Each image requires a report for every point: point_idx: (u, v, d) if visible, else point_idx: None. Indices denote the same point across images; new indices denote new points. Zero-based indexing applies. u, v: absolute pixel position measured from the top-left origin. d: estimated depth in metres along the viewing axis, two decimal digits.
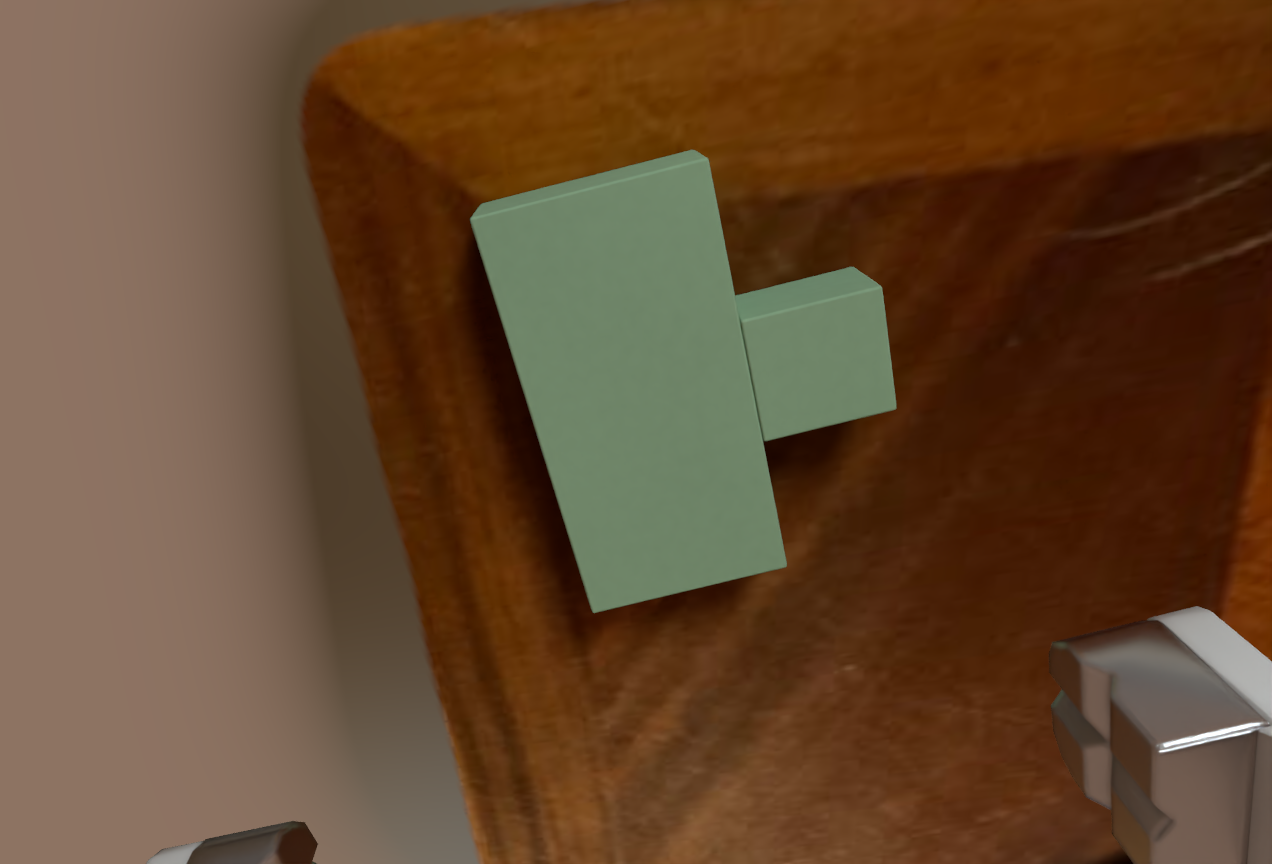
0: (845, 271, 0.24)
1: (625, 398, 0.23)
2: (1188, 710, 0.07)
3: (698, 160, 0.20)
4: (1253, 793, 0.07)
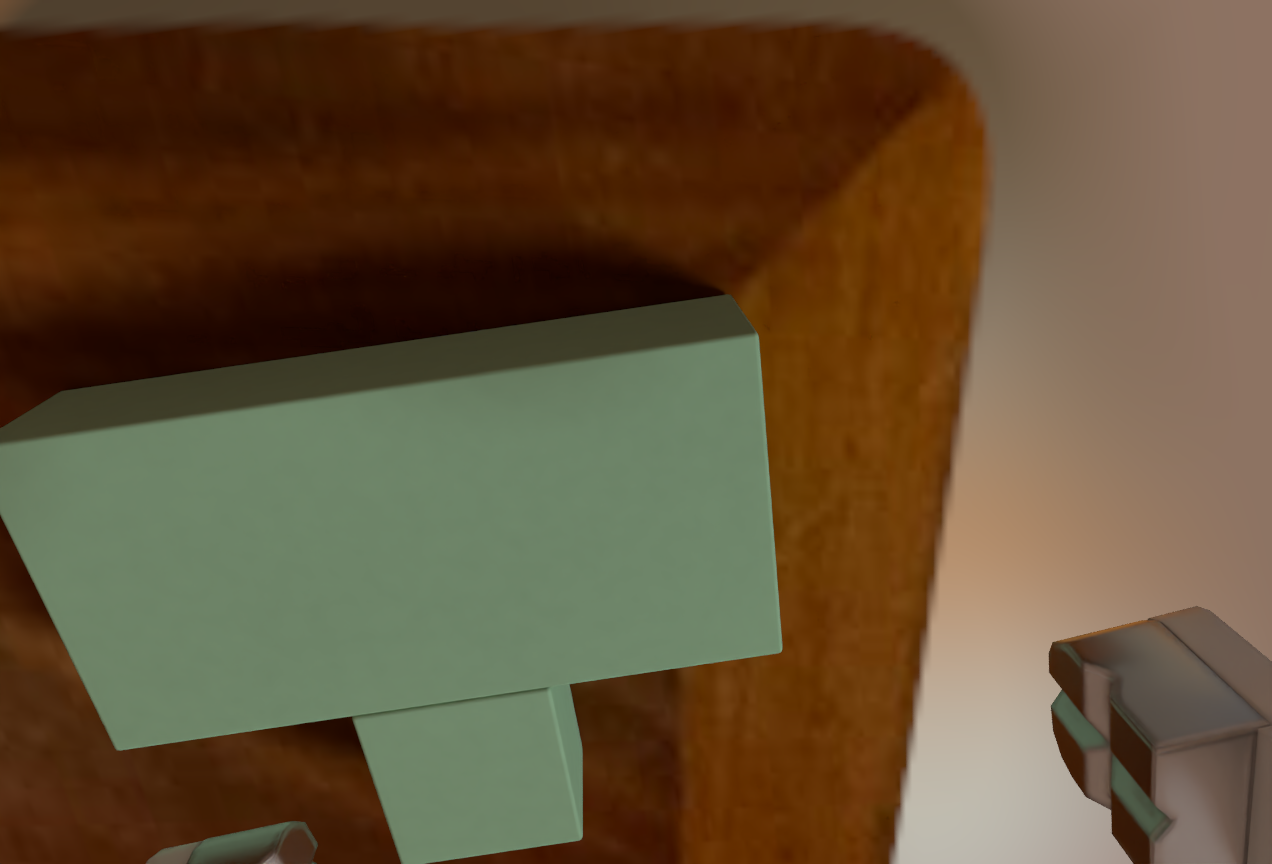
0: (580, 749, 0.18)
1: (433, 534, 0.14)
2: (1188, 710, 0.07)
3: (781, 642, 0.15)
4: (1253, 793, 0.07)
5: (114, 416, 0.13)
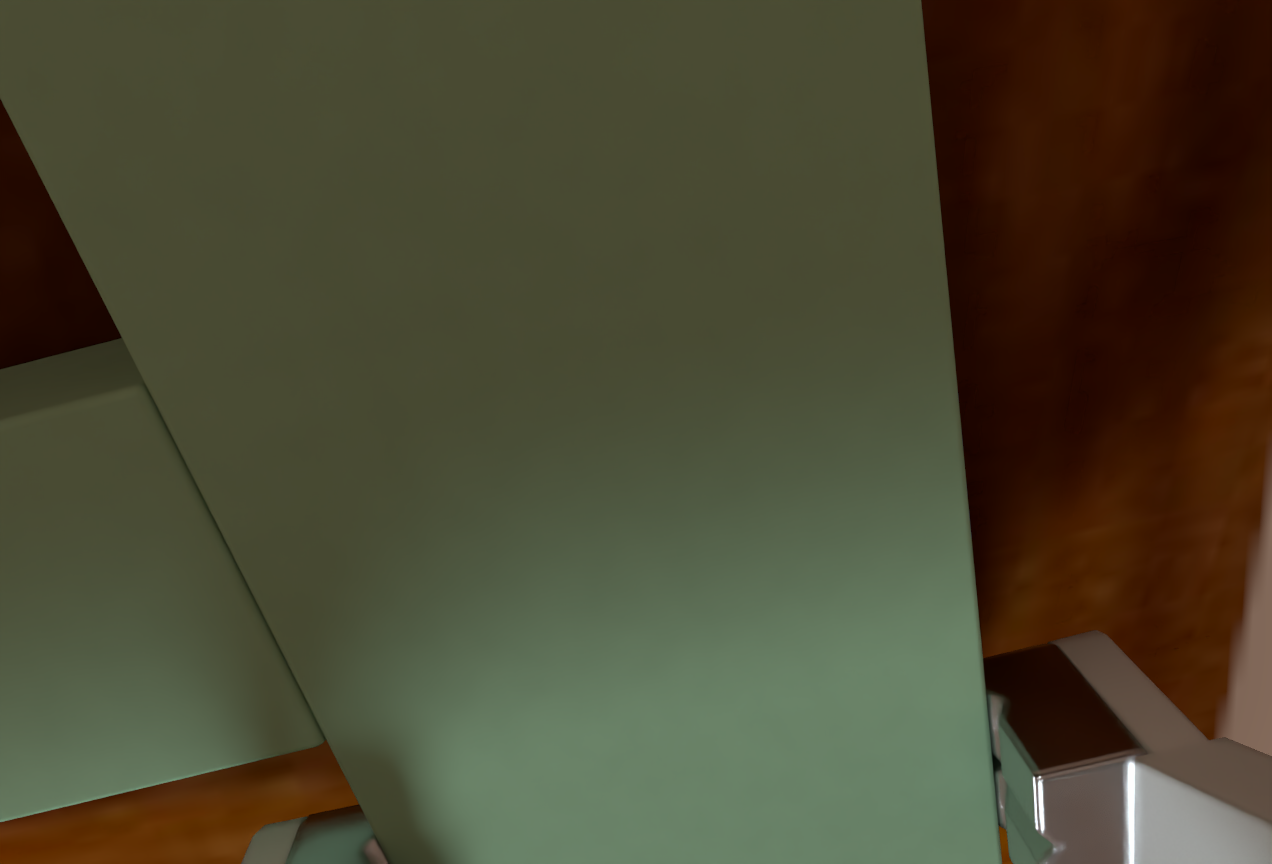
0: None
1: (658, 534, 0.07)
2: (1070, 737, 0.07)
3: None
4: (1134, 820, 0.07)
5: None
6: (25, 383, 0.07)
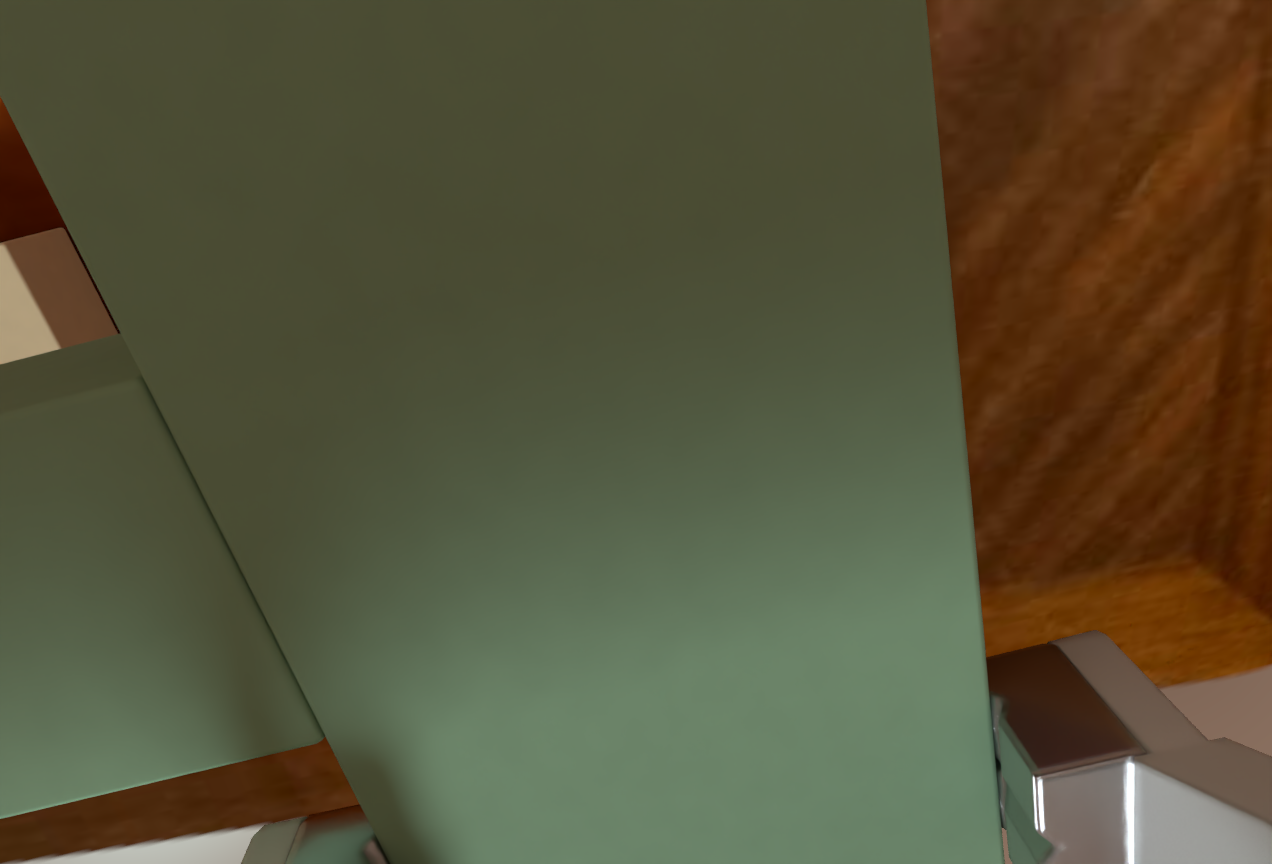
0: None
1: (661, 530, 0.07)
2: (1070, 737, 0.07)
3: None
4: (1134, 821, 0.07)
5: None
6: (23, 378, 0.07)
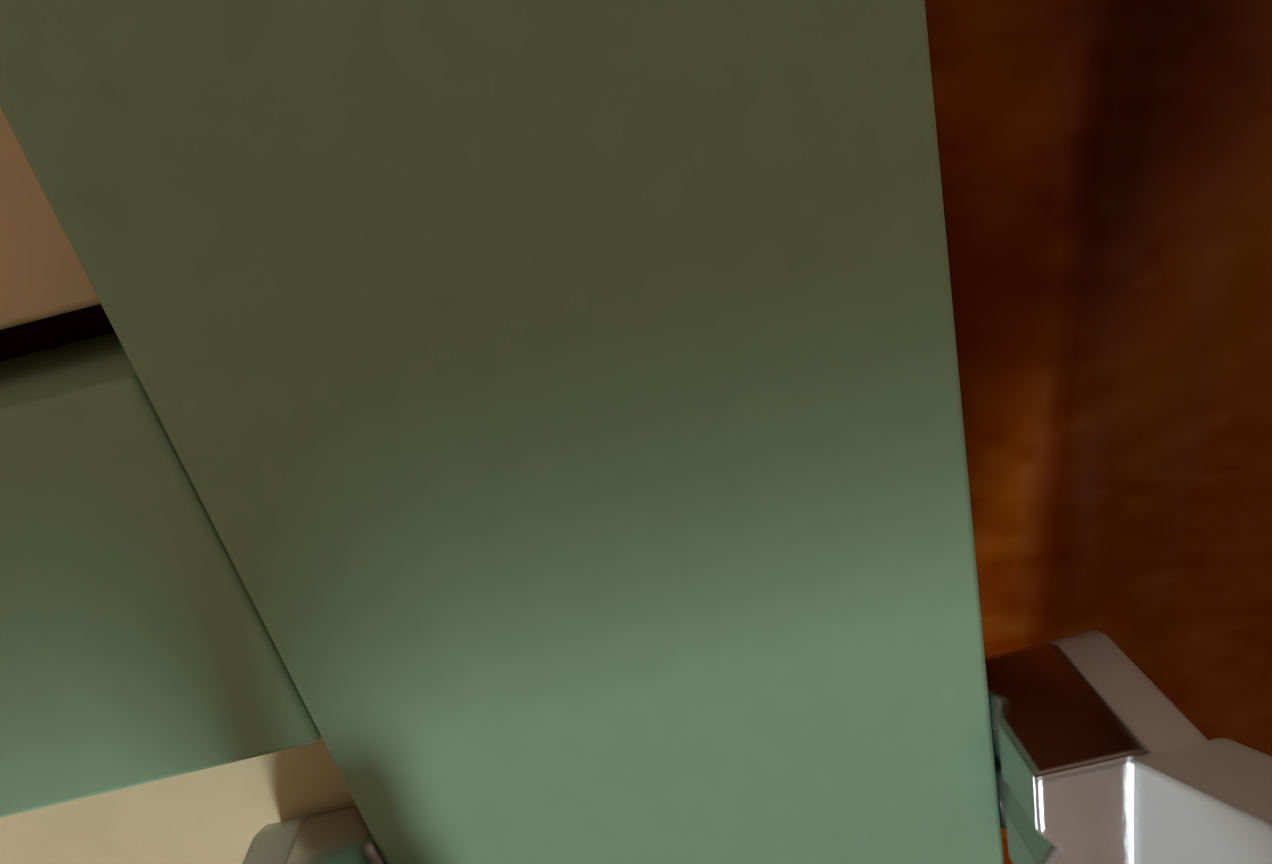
0: None
1: (659, 528, 0.07)
2: (1070, 737, 0.07)
3: None
4: (1134, 821, 0.07)
5: None
6: (17, 376, 0.07)
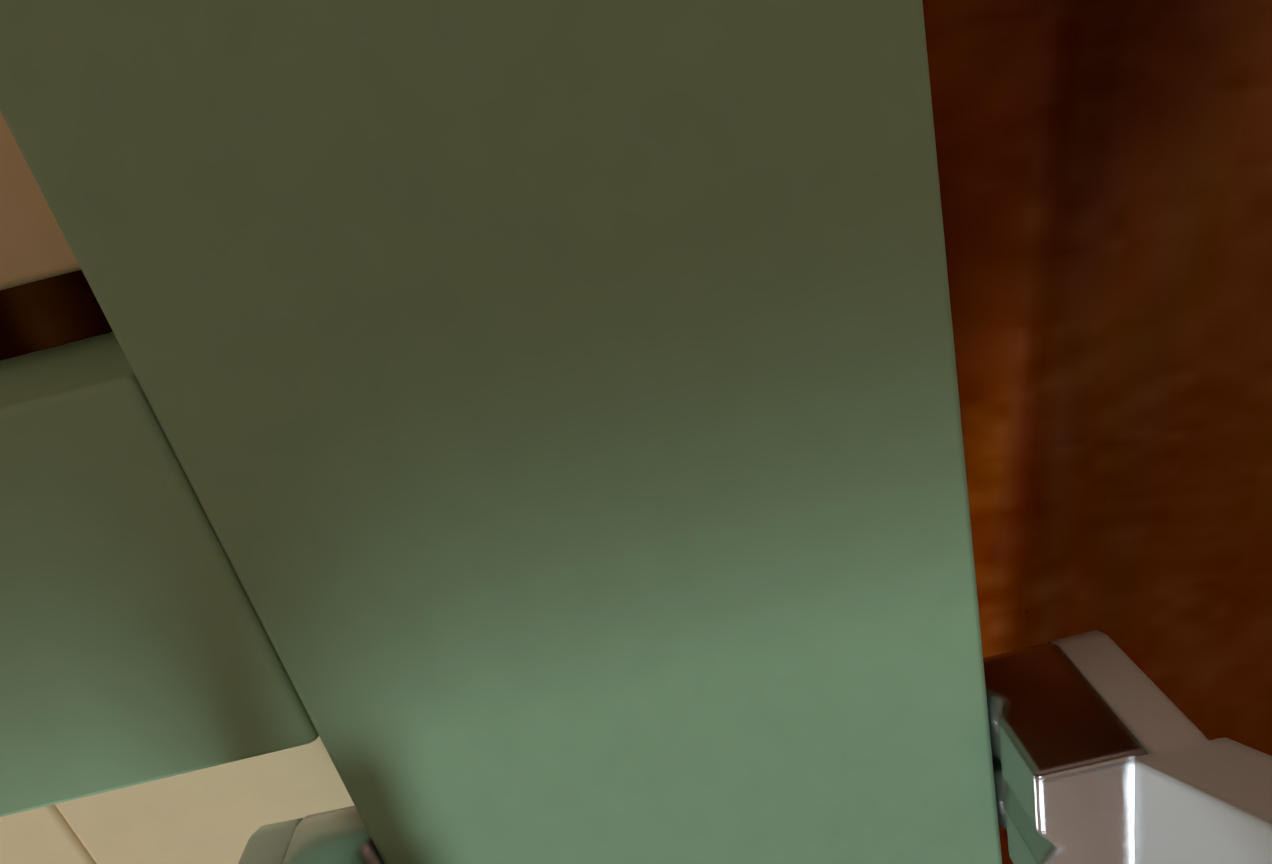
0: None
1: (655, 528, 0.07)
2: (1071, 737, 0.07)
3: None
4: (1134, 821, 0.07)
5: None
6: (15, 376, 0.07)
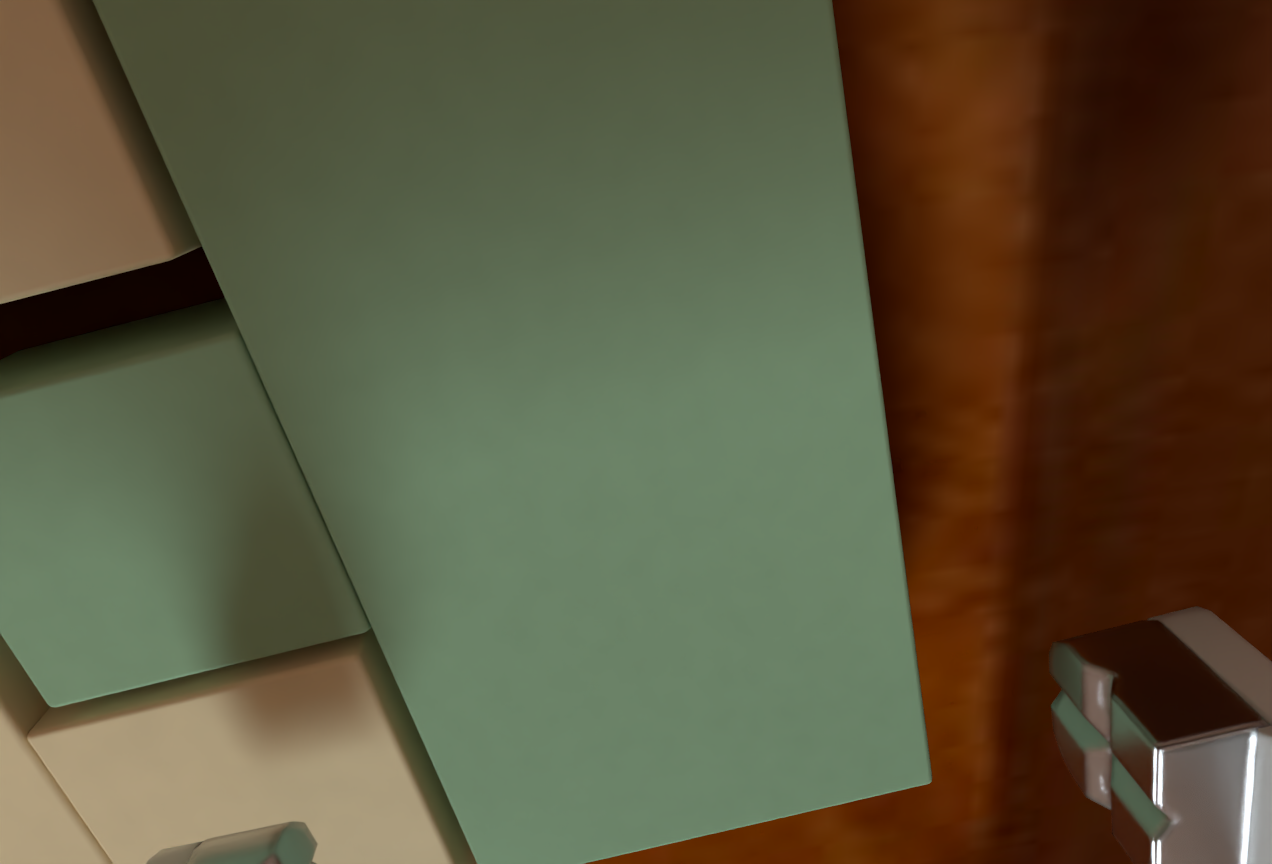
0: None
1: (640, 456, 0.09)
2: (1188, 710, 0.07)
3: None
4: (1253, 793, 0.07)
5: None
6: (130, 337, 0.09)
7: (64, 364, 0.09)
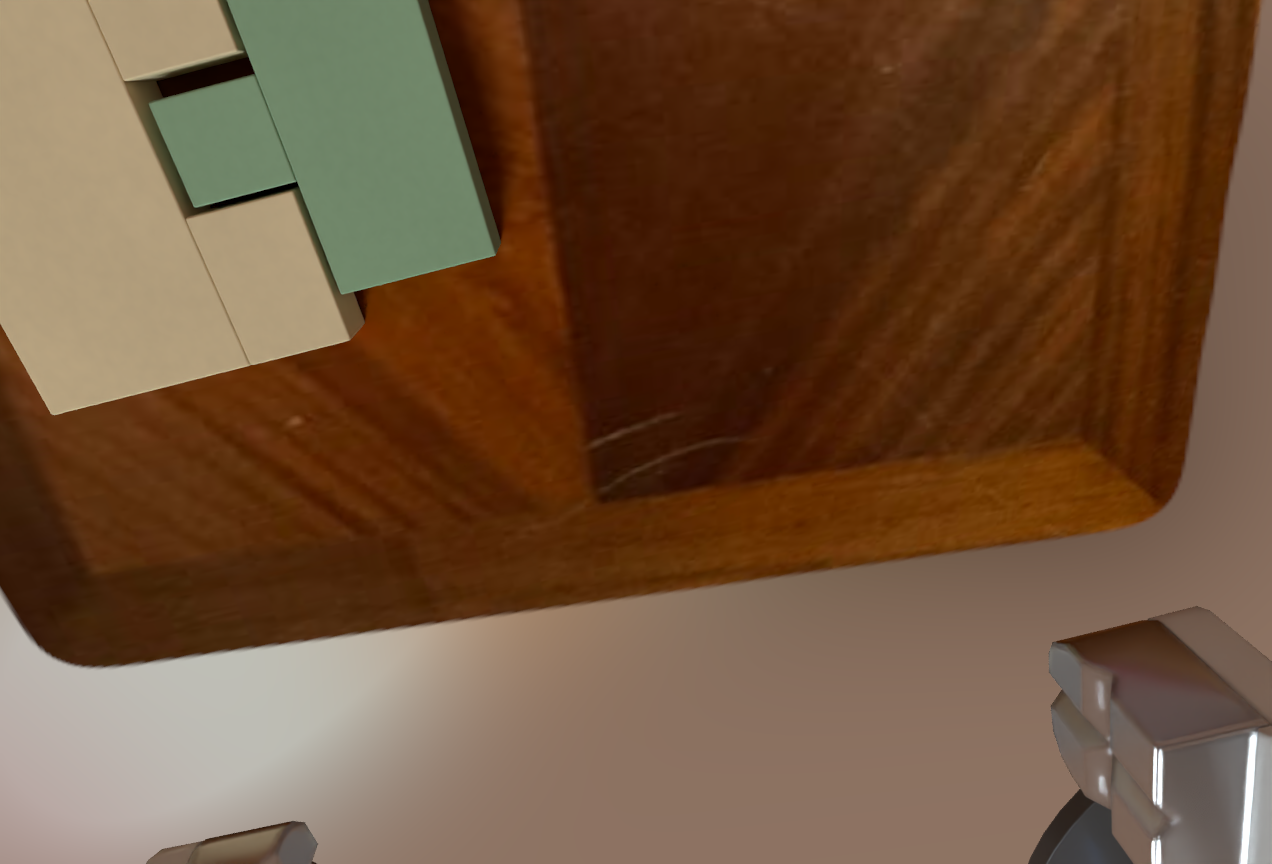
0: None
1: (375, 118, 0.29)
2: (1188, 710, 0.07)
3: (346, 293, 0.31)
4: (1253, 793, 0.07)
5: None
6: None
7: None
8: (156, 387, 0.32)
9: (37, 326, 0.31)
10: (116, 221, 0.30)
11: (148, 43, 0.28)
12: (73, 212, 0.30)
